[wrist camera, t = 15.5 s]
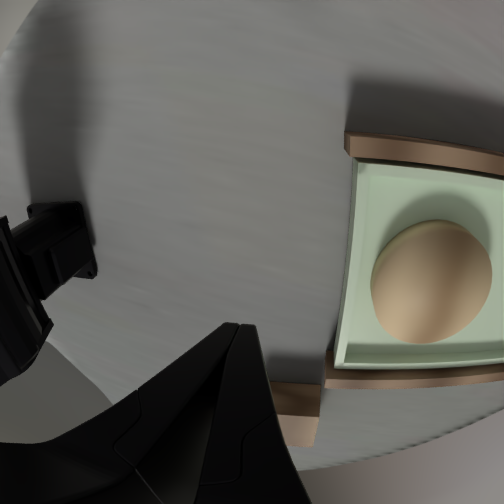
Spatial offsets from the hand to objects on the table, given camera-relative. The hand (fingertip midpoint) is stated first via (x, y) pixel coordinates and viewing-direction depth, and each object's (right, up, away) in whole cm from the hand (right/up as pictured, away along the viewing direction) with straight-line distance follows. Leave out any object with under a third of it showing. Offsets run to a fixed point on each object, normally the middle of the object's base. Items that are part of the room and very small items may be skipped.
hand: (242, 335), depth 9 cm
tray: (+14, +1, +10) cm, 17 cm away
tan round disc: (+11, +1, +10) cm, 15 cm away
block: (+4, -11, +18) cm, 22 cm away
